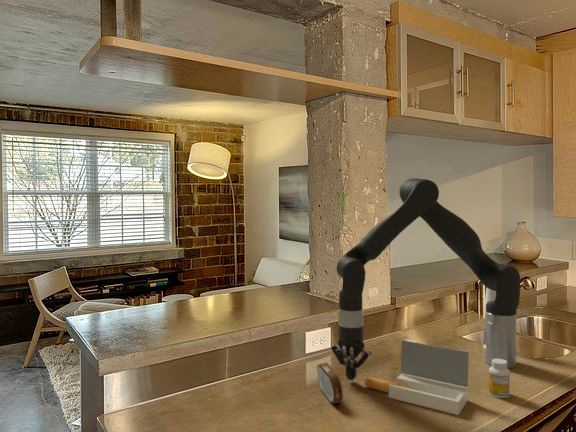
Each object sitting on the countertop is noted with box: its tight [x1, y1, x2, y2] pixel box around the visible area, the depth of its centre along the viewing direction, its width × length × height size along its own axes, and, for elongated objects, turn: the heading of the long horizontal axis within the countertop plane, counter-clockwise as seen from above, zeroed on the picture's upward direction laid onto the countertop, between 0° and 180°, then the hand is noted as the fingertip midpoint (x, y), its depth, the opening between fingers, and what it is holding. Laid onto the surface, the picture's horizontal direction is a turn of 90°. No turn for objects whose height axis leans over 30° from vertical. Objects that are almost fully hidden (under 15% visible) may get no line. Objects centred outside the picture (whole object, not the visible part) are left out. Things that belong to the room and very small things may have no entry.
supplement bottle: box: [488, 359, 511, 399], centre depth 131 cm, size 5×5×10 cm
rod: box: [363, 376, 406, 394], centre depth 135 cm, size 3×13×3 cm, turn 56°
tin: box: [316, 361, 344, 405], centre depth 132 cm, size 15×3×8 cm, turn 14°
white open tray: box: [388, 373, 469, 416], centre depth 129 cm, size 10×19×4 cm, turn 55°
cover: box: [400, 339, 470, 388], centre depth 133 cm, size 10×19×1 cm
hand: (351, 379), depth 141 cm, fingers closed
